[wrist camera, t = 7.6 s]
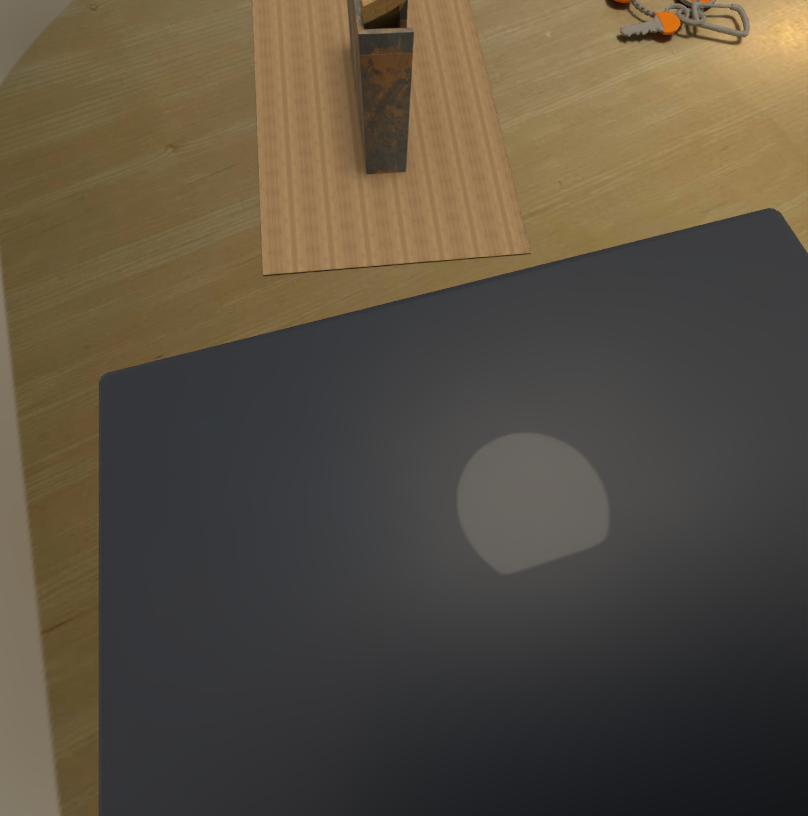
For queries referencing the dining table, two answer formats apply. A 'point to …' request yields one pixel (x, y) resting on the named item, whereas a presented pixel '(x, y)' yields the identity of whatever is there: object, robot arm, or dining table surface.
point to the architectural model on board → (377, 136)
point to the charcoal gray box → (472, 549)
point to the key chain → (682, 18)
